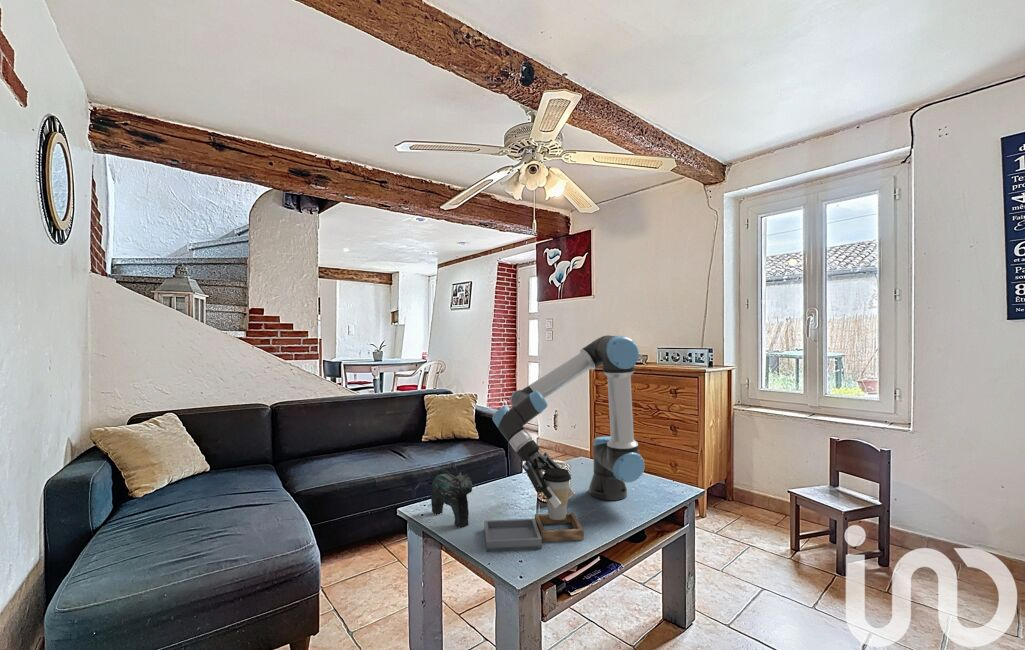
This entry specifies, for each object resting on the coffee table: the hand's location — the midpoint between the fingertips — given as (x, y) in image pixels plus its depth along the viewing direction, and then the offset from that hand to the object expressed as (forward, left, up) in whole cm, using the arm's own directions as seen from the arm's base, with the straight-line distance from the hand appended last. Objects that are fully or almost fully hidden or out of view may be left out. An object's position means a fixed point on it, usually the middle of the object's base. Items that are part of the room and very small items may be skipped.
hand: (565, 500), depth 152 cm
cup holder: (+2, -2, -11) cm, 11 cm away
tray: (+18, +2, -11) cm, 21 cm away
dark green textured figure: (+39, -14, -11) cm, 43 cm away
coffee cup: (+2, -2, -6) cm, 7 cm away
